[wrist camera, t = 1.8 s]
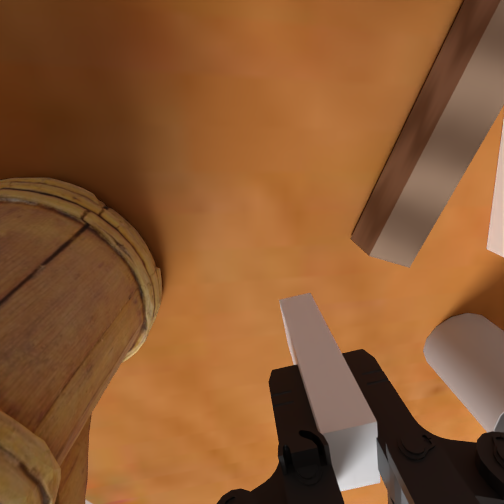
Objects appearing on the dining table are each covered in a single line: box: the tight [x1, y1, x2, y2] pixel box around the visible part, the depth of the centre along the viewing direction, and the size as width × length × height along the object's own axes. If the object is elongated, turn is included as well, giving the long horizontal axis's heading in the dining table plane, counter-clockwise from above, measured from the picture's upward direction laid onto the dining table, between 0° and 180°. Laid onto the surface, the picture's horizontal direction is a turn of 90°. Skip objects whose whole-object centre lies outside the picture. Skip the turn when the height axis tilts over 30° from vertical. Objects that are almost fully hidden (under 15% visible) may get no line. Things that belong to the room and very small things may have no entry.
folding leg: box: [351, 0, 504, 268], centre depth 22 cm, size 22×4×5 cm, turn 162°
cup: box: [423, 313, 504, 432], centre depth 30 cm, size 8×8×10 cm
